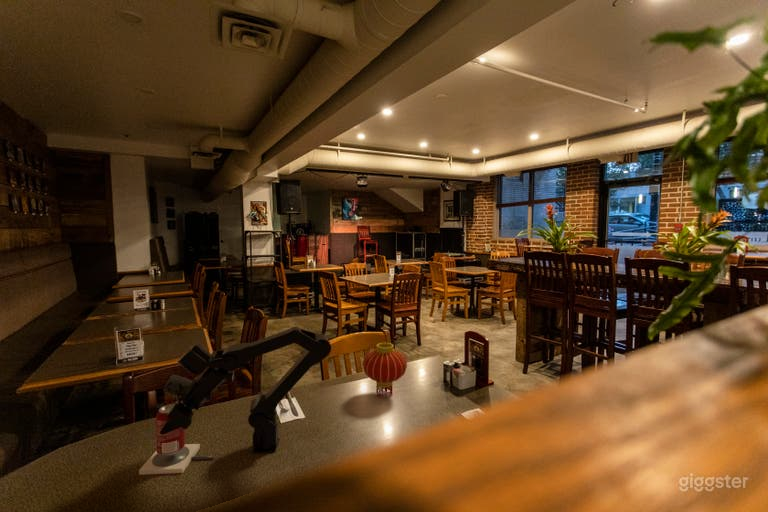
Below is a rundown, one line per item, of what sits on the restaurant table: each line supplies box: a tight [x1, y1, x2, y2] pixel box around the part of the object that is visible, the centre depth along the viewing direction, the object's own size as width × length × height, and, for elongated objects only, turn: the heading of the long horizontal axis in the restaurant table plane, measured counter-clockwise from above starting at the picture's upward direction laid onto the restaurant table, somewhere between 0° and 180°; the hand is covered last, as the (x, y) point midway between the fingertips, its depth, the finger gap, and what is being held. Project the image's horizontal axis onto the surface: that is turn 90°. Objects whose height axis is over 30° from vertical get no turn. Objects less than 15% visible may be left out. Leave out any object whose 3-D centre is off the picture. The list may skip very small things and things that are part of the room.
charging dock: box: [138, 443, 215, 476], centre depth 102 cm, size 17×11×2 cm, turn 95°
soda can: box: [155, 403, 186, 456], centre depth 101 cm, size 7×7×12 cm
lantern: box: [362, 320, 408, 398], centre depth 141 cm, size 17×17×30 cm
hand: (165, 426), depth 101 cm, fingers closed on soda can, 7 cm apart
